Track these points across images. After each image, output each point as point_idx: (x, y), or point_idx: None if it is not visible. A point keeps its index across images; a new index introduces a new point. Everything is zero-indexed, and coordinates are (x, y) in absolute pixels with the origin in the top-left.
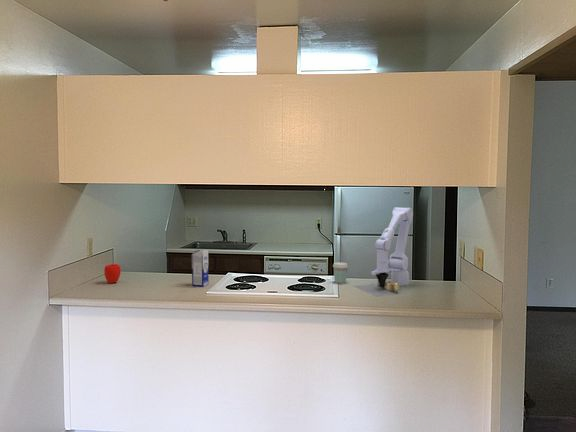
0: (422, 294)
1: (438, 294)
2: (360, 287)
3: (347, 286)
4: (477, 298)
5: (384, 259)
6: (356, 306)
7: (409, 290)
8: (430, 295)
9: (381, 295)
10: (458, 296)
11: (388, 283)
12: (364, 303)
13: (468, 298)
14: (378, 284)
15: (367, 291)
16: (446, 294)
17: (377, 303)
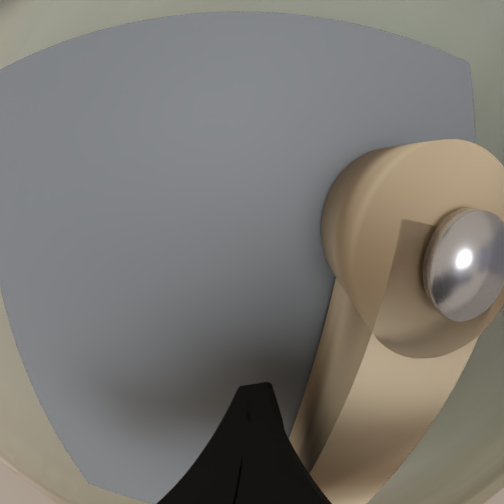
0: (441, 482)
1: (485, 473)
2: (18, 176)
3: (20, 13)
4: (493, 494)
5: None
6: (6, 461)
7: (493, 401)
8: (446, 491)
9: (127, 493)
10: (491, 485)
11: (331, 496)
12: (29, 466)
13: (480, 499)
14: (328, 246)
15: (43, 382)
16: (501, 468)
17: (81, 498)
